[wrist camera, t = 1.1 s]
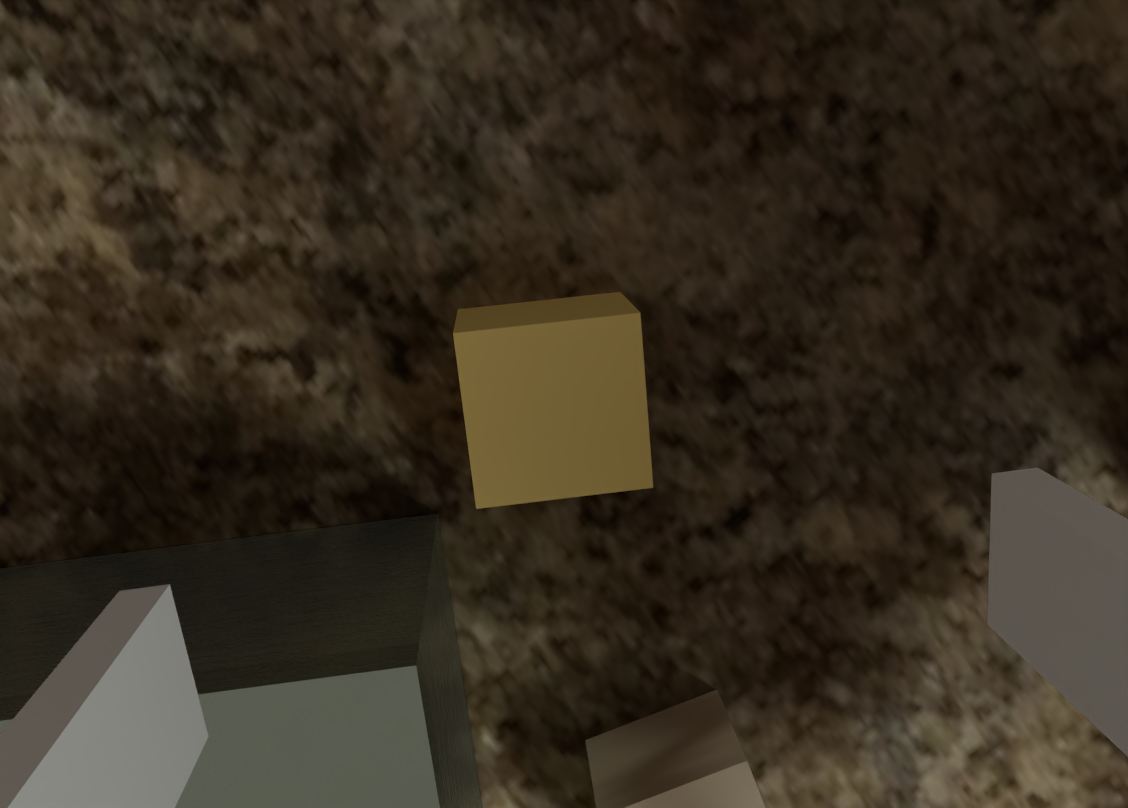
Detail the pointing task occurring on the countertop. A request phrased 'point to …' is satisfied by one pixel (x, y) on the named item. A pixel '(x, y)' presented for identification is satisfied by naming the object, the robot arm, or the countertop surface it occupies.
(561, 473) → the block
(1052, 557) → the robot arm
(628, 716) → the countertop surface
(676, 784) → the block
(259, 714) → the box
